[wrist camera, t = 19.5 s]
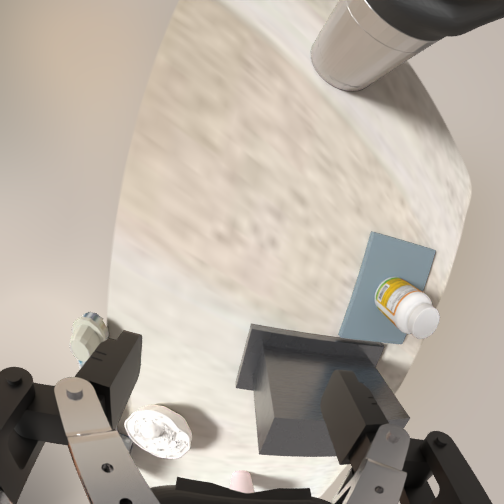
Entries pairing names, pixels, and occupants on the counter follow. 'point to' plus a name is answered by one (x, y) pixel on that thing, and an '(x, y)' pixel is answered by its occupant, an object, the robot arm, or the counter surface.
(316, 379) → the mounted unit
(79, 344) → the grey knobbed handle
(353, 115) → the counter surface
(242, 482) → the smoothie
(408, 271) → the mat
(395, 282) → the supplement bottle
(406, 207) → the counter surface
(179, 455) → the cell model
